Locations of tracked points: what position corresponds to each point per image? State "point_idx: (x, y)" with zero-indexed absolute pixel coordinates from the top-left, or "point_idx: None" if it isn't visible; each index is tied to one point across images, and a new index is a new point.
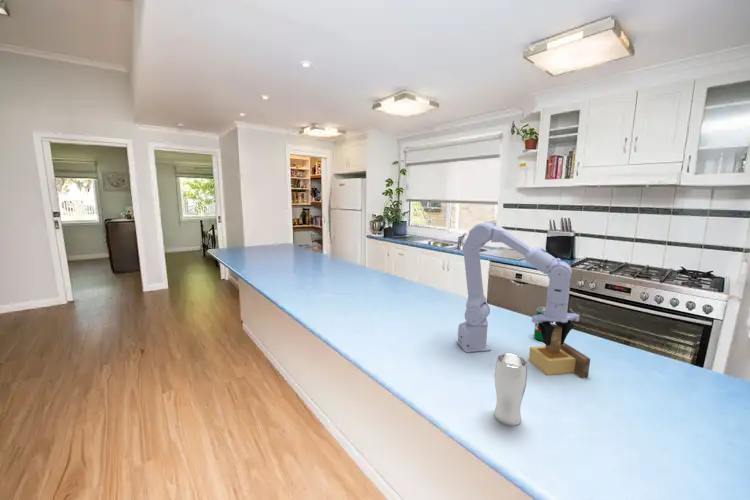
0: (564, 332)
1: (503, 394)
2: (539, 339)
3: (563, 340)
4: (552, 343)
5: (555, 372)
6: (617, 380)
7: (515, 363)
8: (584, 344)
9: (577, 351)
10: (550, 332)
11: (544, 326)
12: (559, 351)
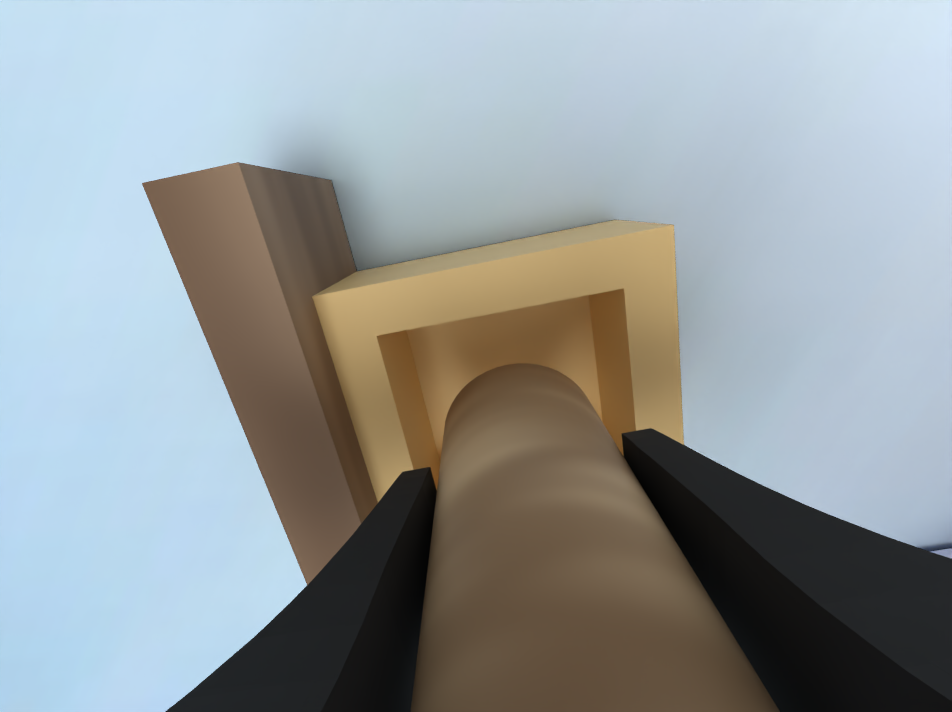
0: (367, 639)
1: None
2: None
3: (396, 503)
4: (600, 441)
5: (538, 237)
6: (24, 155)
7: None
8: (99, 670)
9: (242, 384)
10: (873, 581)
11: None
12: (465, 394)
